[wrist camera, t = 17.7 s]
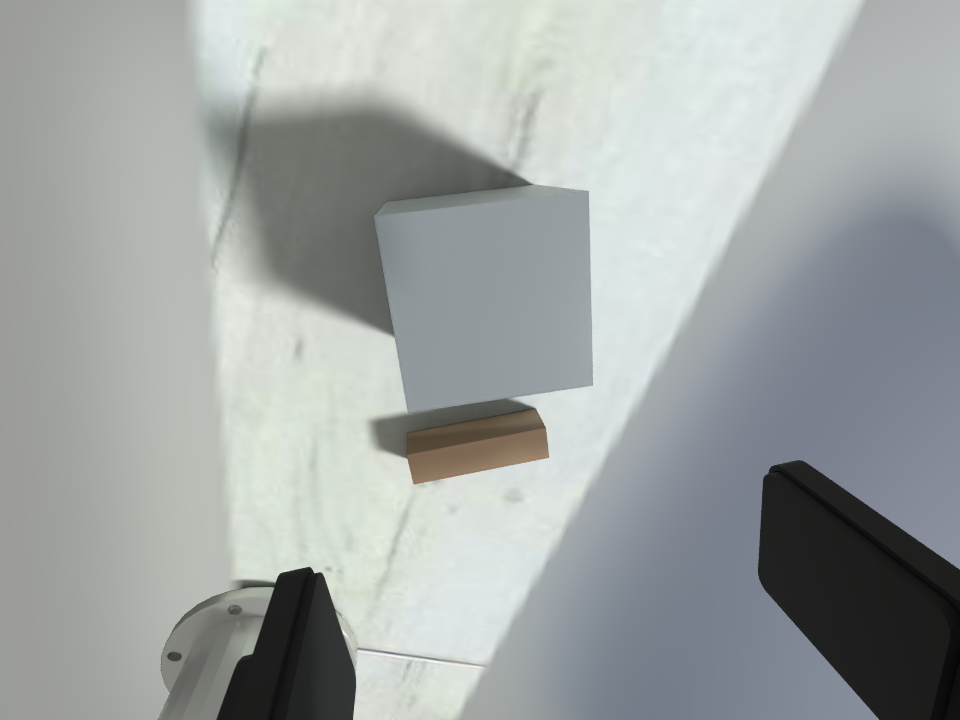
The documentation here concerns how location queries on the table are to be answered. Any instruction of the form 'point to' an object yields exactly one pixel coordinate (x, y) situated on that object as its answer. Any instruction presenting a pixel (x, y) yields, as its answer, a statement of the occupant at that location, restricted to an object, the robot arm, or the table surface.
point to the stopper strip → (476, 446)
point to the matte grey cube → (489, 293)
